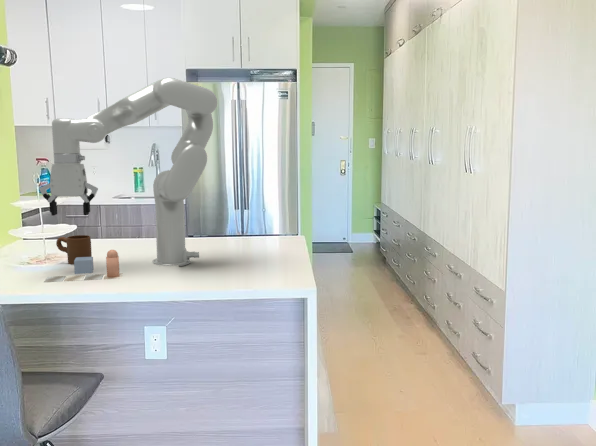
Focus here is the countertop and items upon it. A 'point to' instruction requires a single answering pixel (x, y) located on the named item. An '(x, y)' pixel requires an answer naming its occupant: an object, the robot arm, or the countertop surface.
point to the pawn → (112, 264)
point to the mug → (75, 246)
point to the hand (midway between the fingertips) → (70, 214)
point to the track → (80, 277)
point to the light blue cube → (83, 265)
